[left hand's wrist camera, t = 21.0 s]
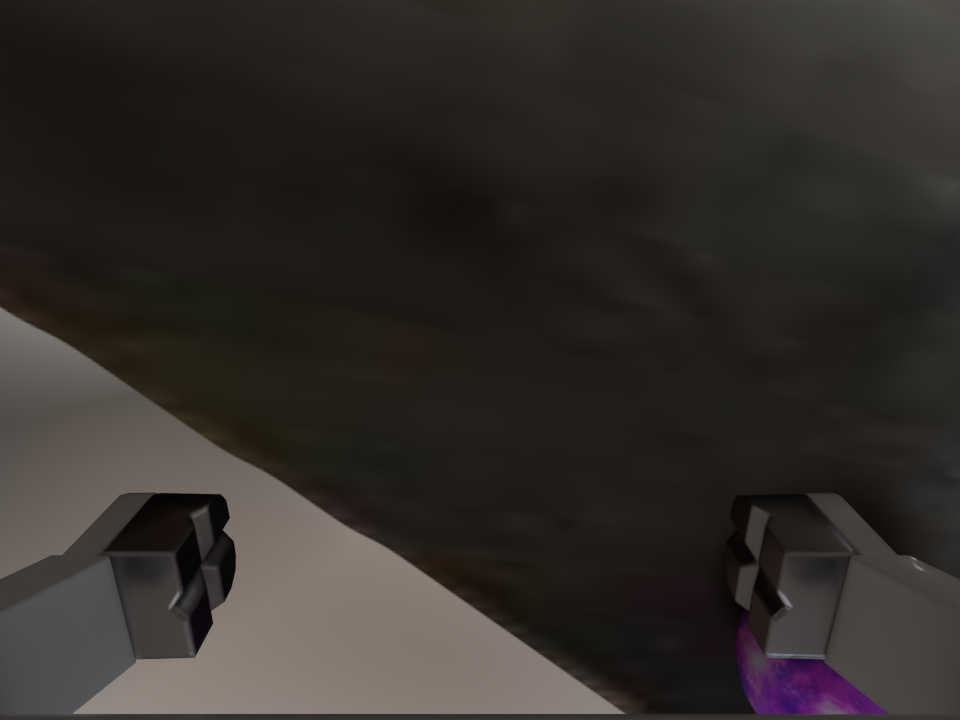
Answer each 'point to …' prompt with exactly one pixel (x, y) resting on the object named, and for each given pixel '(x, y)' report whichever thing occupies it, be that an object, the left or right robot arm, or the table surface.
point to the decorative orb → (794, 682)
